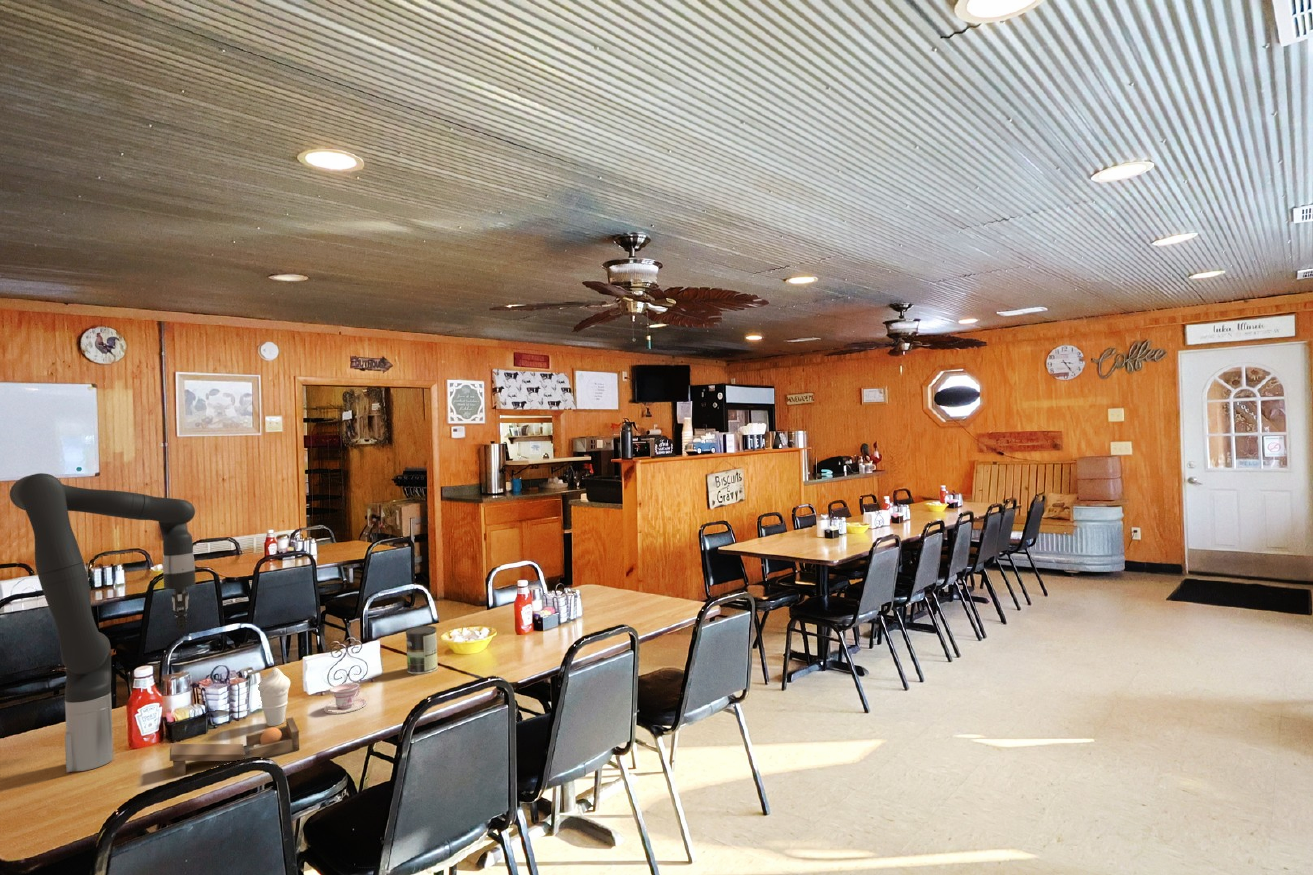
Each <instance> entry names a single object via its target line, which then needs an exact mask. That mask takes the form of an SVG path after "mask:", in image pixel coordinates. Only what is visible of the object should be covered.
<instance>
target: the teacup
mask: <svg viewBox="0 0 1313 875" xmlns="http://www.w3.org/2000/svg"><path fill="white" fill-rule="evenodd" d="M361 686H362V684H360V683H358V682H346V683H340V684H337V685H334V686H333V687H331V688H329V692H331V694H333V697H334V698H335V701H334V702H332V703H329V704H327V705H326V706H325V707H324V708H323V712H324V713H326V714H329V715H339V714H341V715H342V714H346V713H347V714H348V713H351V712H356V711H358V710H360V709H363V708H364V707H366V705H367V704H368V701H367V700H365V699H363V698H357V697H358V696H359V695H360V692H361V688H362V687H361ZM354 702H362V703H363V704H362V705H361V704H360V703H359V704H357V703H356V704H354ZM334 706H336V707H334ZM354 706H361V707H359V708H357V709H355V708H353V709H351V708H352V707H354ZM362 707H363V708H362ZM338 708H339V709H338ZM328 710H351V711H346V712H338V713H337V712H332V711H328ZM355 710H356V711H355Z"/></svg>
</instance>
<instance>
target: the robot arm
mask: <svg viewBox="0 0 1313 875" xmlns="http://www.w3.org/2000/svg"><path fill="white" fill-rule="evenodd" d="M9 499H10V501H11V503H13V505H15V507H17V508H19V509H20V510H23V511H25V512H26V514H27V517H28V520H29V523H30V525H31V528H32V532H33V535H34V538H33V539H34V562H35V563H34V565H35V571H36V573H37V578H38V581H39V584H40V587H41V590H42V593H43V595H44V598H45V601H46V603H47V606H48V608H49V611H50V614H51V615H52V616H51V617H52V618H53V620H54V624H55V625H56V626H55V627H56V630H57V636H58V640H59V641H58V642H59V648H60V654H61V655H60V656H61V662H62V664H63V665H64V667H65V687H64V703H65V704H64V706H65V730H66V731H65V733H64V745H65V746H64V747H65V748H64V749H65V770H66V771H65V773H70V772H71V773H72V772H82V771H83V772H85V771H89V770H93V769H96V768H99V767H102V766H105V765H106V764H109V763H111V762H112V761H113V760H114V745H113V744H114V743H113V742H114V741H113V740H114V738H113V716H112V715H113V712H112V710H113V709H112V685H111V684H112V648H111V647H112V646H111V643H110V640H109V638H108V637H107V636H106V635H105V634H104V633H102V632H99V630H98V627H97V625H96V622H95V619H94V616H93V611H92V602H91V601H92V600H91V588H90V582H89V581H90V580H89V576H88V575H89V574H88V572H87V569H86V568H87V567H86V565H85V562H84V559H83V556H82V553H81V551H80V550H81V549H80V547H79V544H78V542H77V541H78V540H77V538H76V535H75V533H74V531H73V528H72V525H71V521H70V516H69V512H76V513H77V512H79V513H87V514H88V513H89V514H93V515H94V514H95V515H101V516H106V517H107V516H109V517H114V518H122V519H127V520H130V519H131V520H138V521H154V522H158V525H159V529H160V533H161V537H162V540H163V541H162V547H163V548H162V551H163V552H162V553H163V558H162V559H163V560H162V576H163V578H162V579H163V588H164V589H166V590H174V593H172V594H171V601H172V608H173V609H172V610H173V611H174V617H175V620H176V621H175V622H176V631H177V632H180V631H185V630H187V615H188V614H187V610H188V608H189V598H190V594H189V591H187V588H189V587H194V586H195V585H196V583H197V582H196V565H195V563H196V562H195V556H194V547H193V546H194V545H193V543H194V541H193V536H192V534H191V533H190V532H189V531H188V525H187V523H189V522H190V521H192V519H193V518H194V517H195V514H196V509H195V506H194V505H193V504H192V503H191V502H190V501H187V500H186V499H181V498H169V497H162V496H153V495H149V494H145V493H143V494H142V493H139V492H138V493H137V492H130V491H122V490H109V489H93V488H84V487H77V486H71V485H67V484H64V483H62V482H61V480H60V479H59V478H57V477H56V476H54V475H52V474H49V473H43V472H42V473H41V472H39V473H35V474H30V475H27V476H24V477H22V478H20V479H19V480H17V481H15V482H14V483H13V485H12V486H11V487H10V490H9Z"/></svg>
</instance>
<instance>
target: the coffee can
mask: <svg viewBox="0 0 1313 875" xmlns="http://www.w3.org/2000/svg"><path fill="white" fill-rule="evenodd" d="M437 630H438V629H437V627H436V626H432V625H422V626H415V627H411V628H409V629H407V630H405V639H406V660H407V661H406V665H407V667H406V668H407V673H408V674H409V673H410V675H424V674H425V673H426V674H429V672H430V673H432V672H435V671H437V670H438V669H439V667H438V646H437V645H438V642H437V638H438V637H437Z"/></svg>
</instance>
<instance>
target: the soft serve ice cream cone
mask: <svg viewBox="0 0 1313 875" xmlns="http://www.w3.org/2000/svg"><path fill="white" fill-rule="evenodd" d="M260 680H261V682H260V683H259V684H258V685H259V687H258V690H259V691H260V697H261V701H262V703H261V708H262V711H263V714H264V717H265V721H266V725H267V727H276V726H280V725H282V724H284V722H285V720H286V712H287V706H288V704H289V700H288V695H289V691H290V690H289V689H290V686H291V680H290V679H289V677H288V676H286V675H284V673H283V672H282V671H281V670H280V669H279V668H277V667H273V668H272V670H271V672H270V673H269V674H267V675H265V676H264V677H263V678H261V679H260Z"/></svg>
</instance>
